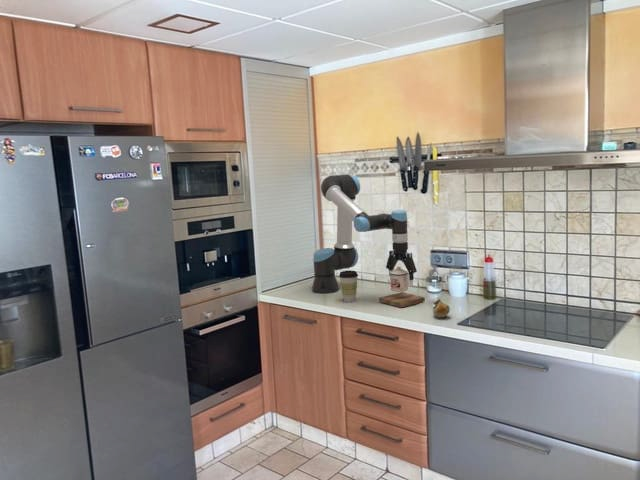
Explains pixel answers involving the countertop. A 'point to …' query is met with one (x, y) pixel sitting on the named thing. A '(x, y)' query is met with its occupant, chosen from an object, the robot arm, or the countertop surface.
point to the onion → (440, 309)
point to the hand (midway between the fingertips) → (401, 284)
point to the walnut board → (401, 299)
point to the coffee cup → (348, 285)
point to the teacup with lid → (399, 280)
